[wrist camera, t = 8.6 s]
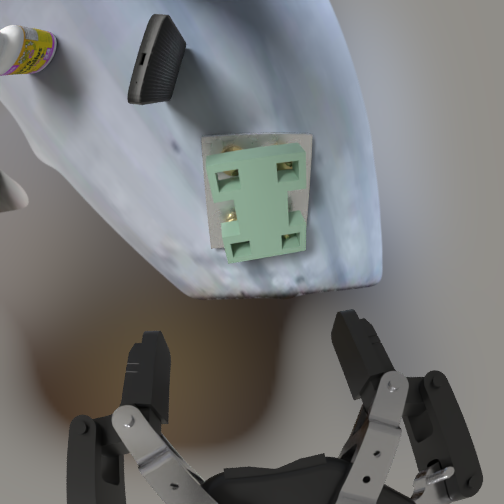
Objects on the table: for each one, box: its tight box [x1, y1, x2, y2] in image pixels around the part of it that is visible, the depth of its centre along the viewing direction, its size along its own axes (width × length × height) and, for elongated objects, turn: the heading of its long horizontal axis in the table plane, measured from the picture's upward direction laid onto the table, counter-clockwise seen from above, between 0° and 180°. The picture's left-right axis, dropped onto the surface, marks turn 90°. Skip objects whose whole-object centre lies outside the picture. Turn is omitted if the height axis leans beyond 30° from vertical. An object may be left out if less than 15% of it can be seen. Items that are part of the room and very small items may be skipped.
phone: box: [128, 14, 186, 105], centre depth 21 cm, size 8×1×15 cm, turn 164°
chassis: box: [201, 132, 312, 249], centre depth 35 cm, size 14×16×5 cm
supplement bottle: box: [0, 25, 57, 76], centre depth 15 cm, size 7×7×13 cm
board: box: [206, 143, 306, 264], centre depth 32 cm, size 10×14×3 cm
